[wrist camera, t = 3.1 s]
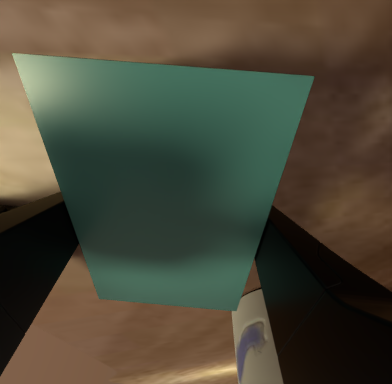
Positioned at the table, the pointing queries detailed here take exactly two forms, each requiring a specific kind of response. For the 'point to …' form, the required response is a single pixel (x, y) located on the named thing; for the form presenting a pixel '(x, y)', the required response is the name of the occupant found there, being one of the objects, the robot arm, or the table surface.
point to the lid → (165, 169)
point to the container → (254, 342)
